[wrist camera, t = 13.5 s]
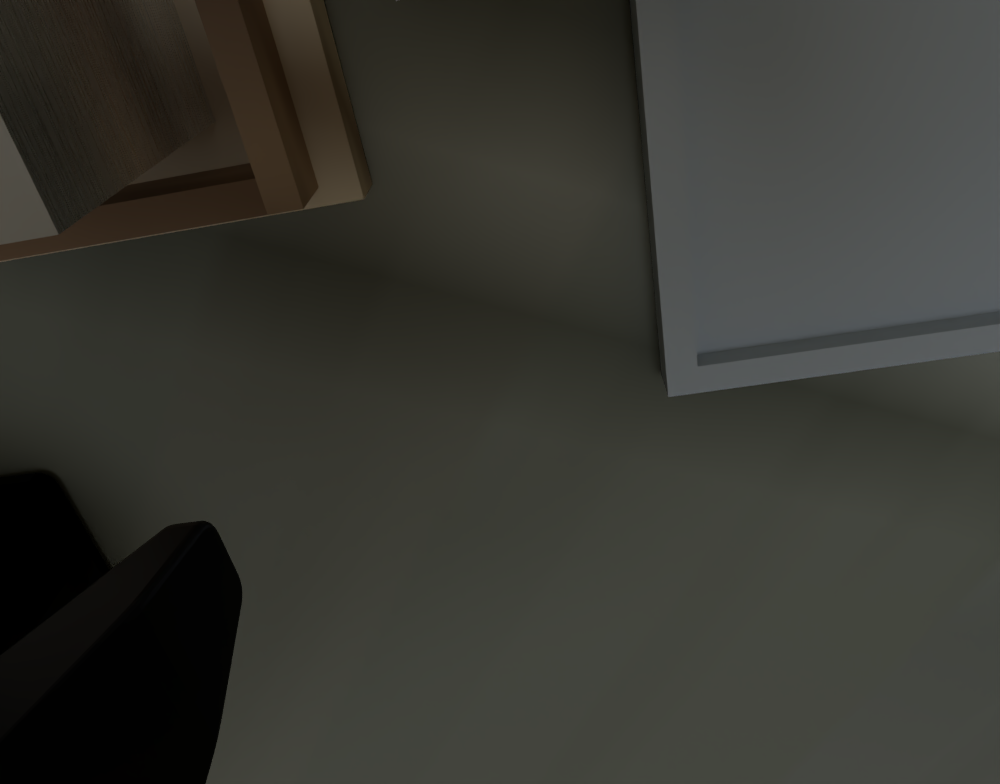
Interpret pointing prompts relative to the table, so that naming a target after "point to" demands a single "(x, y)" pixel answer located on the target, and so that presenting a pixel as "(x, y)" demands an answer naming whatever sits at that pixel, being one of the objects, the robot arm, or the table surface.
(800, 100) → the tray
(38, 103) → the block
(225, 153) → the pallet board
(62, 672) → the robot arm
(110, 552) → the table surface
